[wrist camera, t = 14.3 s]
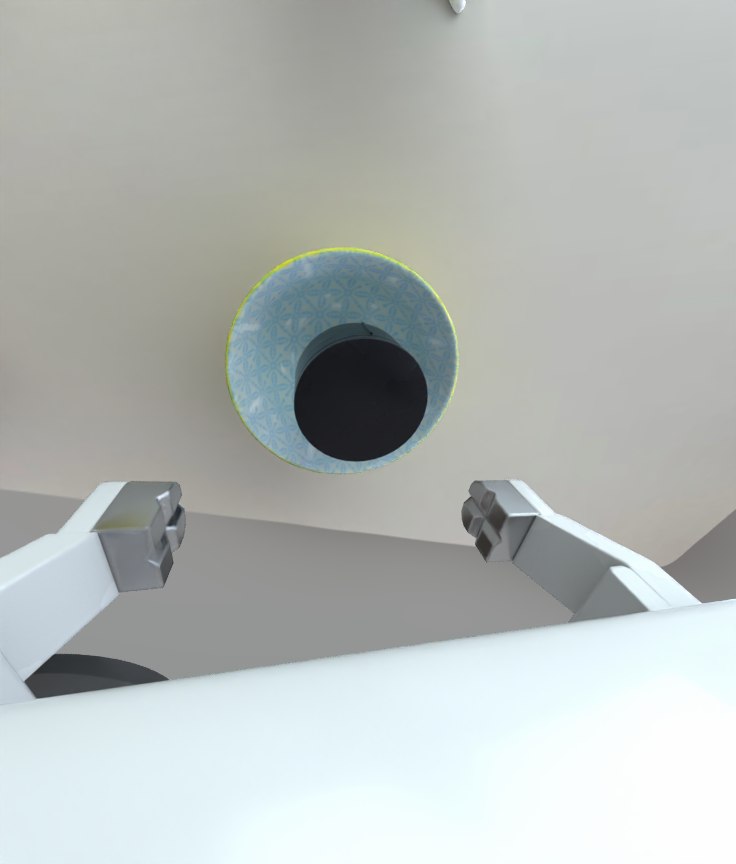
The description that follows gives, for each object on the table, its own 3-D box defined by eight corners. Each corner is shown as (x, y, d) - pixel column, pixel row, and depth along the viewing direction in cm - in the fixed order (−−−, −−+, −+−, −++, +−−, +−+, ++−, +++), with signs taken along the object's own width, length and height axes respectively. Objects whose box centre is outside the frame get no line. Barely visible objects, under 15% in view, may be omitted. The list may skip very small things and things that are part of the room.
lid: (297, 312, 13) (296, 326, 11) (420, 328, 15) (443, 343, 12) (292, 429, 16) (291, 461, 14) (396, 433, 17) (412, 462, 15)
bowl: (384, 209, 17) (421, 192, 12) (439, 383, 23) (480, 423, 18) (204, 301, 18) (163, 323, 13) (303, 448, 24) (304, 504, 19)
